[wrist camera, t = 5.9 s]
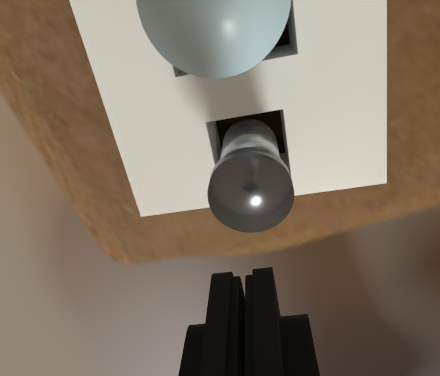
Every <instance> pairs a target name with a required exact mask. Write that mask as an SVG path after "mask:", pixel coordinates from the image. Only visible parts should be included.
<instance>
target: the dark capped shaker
mask: <svg viewBox="0 0 440 376" xmlns="http://www.w3.org/2000/svg"><path fill="white" fill-rule="evenodd" d="M207 195H208V203H209V206H210V208H211V210H212V212H213V214H214V215H215V216H216V218H217V219H218V220H219V221H220V222H221V223H223V224H224V225H226V226H228V227H229V228H231V229H234V230H237V231H241V232H251V233H252V232H260V231H264V230H268V229H270V228H272V227H274V226H276V225H277V224H279V223H280V222H281V221H282V220H283V219H284V218H285V217H286V216H287V215H288V213H289V211H290V210H291V207H292V205H293V201H294V188H293V183H292V179H291V175H290V172H289V169H288V168H287V166H286V164H285V163H284V162H283V161H282V159H281V158H280V155H279V150H278V145H277V140H276V136H275V134H274V132H273V130H272V129H271V128H270V127H269V126H268V125H267V124H265V123H264V122H261V121H259V120H254V119H246V120H242V121H239V122H237V123H235V124H234V125H232V126H231V127H230V128H229V129H228V131H227V132H226V134H225V136H224V140H223V145H222V151H221V157H220V160H219V161H218V162H217V163H216V165H215V167H214V168H213V170H212V173H211V176H210V181H209V186H208V192H207Z"/></svg>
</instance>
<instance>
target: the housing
mask: <svg viewBox="0 0 440 376" xmlns="http://www.w3.org/2000/svg"><path fill="white" fill-rule="evenodd" d="M69 1H70V4H71V7H72V10H73V13H74V16H75V19H76V22H77V25H78V28H79V31H80V34H81V37H82V40H83V43H84V46H85V49H86V52H87V55H88V58H89V61H90V64H91V67H92V70H93V73H94V76H95V79H96V82H97V85H98V88H99V91H100V94H101V97H102V100H103V103H104V106H105V109H106V112H107V115H108V118H109V121H110V124H111V127H112V131H113V134H114V137H115V140H116V143H117V146H118V149H119V152H120V155H121V158H122V161H123V164H124V167H125V170H126V173H127V176H128V179H129V182H130V185H131V188H132V191H133V194H134V197H135V200H136V203H137V206H138V209H139V212H140V215H141V217H142V216H150V215H157V214H164V213H172V212H179V211H186V210H193V209H201V208H208V207H210V206H209V203H208V195H207V192H208V186H209V181H210V176H211V173H212V170H213V168H214V167H215V165H216V163H217V162H218V161H219V160H220V157H221V151H222V149H221V144H220V139H219V134H218V129H217V125H216V121H217V120H223V119H228V118H234V117H240V116H246V115H252V114H258V113H264V112H269V111H275V110H280V115H281V123H282V131H283V139H284V147H285V153H281V154H279V155H280V158H281V159H282V161H283V162H284V163H285V164H286V166H287V168H288V169H289V172H290V175H291V179H292V183H293V188H294V196H296V195H303V194H310V193H317V192H325V191H332V190H339V189H347V188H354V187H361V186H368V185H376V184H383V183H387V0H291V7H290V12H289V17H288V20H287V23H288V33H289V42H290V44H288V45H283V46H278V47H274V48H273V49H272V50H271V51H270V53H269V54H268V55H267V56H266V57H265V58H264V59H263V60H262V61H260V62H259V63H258V64H256V65H255V66H254V67H252V68H250V69H249V70H247V71H245V72H243V73H240V74H238V75H235V76H231V77H227V78H218V79H215V78H203V77H198V76H194V75H191V74H188V73H186V72H184V71H181V70H180V69H178V68H176V67H175V66H173V65H172V64H171V63H169V62H168V61H167V60H165V59H164V58H163V57H162V55H161V54H160V53H159V52H158V51H157V50H156V49H155V47H154V46H153V45H152V43H151V42H150V40H149V38H148V37H147V35H146V33H145V31H144V29H143V26H142V24H141V21H140V17H139V14H138V9H137V4H136V0H69Z"/></svg>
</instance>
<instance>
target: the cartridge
mask: <svg viewBox="0 0 440 376" xmlns="http://www.w3.org/2000/svg"><path fill="white" fill-rule="evenodd" d="M136 4H137V9H138V14H139V17H140V21H141V24H142V26H143V29H144V31H145V33H146V35H147V37H148V38H149V40H150V42H151V43H152V45H153V46H154V47H155V49H156V50H157V51H158V52H159V53H160V54H161V55H162V57H163V58H164V59H165V60H167V61H168V62H169V63H171V64H172V65H173V66H175V67H176V68H178V69H180V70H181V71H184V72H186V73H188V74H191V75H194V76H198V77H203V78H215V79H218V78H227V77H231V76H235V75H238V74H240V73H243V72H245V71H247V70H249V69H250V68H252V67H254V66H255V65H256V64H258V63H259V62H260V61H262V60H263V59H264V58H265V57H266V56H267V55H268V54H269V53H270V51H271V50H272V49H273V48H274V46H275V45H276V43H277V42H278V40H279V38H280V37H281V35H282V33H283V30H284V28H285V26H286V23H287V20H288V17H289V12H290V7H291V0H136Z"/></svg>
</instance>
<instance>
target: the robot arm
mask: <svg viewBox="0 0 440 376" xmlns="http://www.w3.org/2000/svg"><path fill="white" fill-rule="evenodd" d="M245 278H246V279H245V286H246V287H245V296H244V291H243V287H242V282H241V278H240V276H236V277H234V276H233V273H232V272H225V273H215V274H212V277H211V284H210V292H209V299H208V308H207V314H206V322H205V324H198V325H189V327H188V329H187V333H186V338H185V343H184V349H183V354H182V360H181V365H180V371H179V376H320V374H319V369H318V364H317V359H316V354H315V349H314V344H313V338H312V334H311V328H310V323H309V318H308V314H303V315H294V316H282V317H281V316H280V310H279V304H278V299H277V292H276V286H275V280H274V274H273V268H272V267H269V268H260V269H253V275H246V277H245Z"/></svg>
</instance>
